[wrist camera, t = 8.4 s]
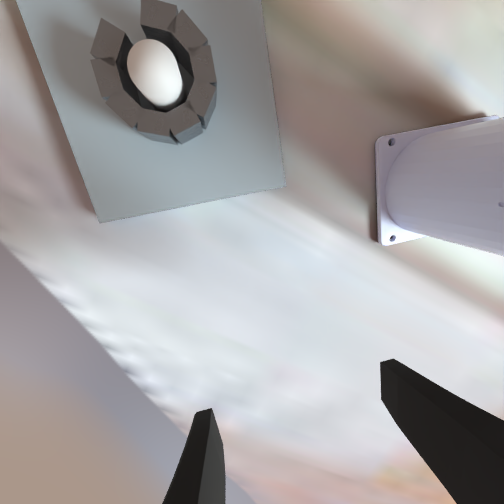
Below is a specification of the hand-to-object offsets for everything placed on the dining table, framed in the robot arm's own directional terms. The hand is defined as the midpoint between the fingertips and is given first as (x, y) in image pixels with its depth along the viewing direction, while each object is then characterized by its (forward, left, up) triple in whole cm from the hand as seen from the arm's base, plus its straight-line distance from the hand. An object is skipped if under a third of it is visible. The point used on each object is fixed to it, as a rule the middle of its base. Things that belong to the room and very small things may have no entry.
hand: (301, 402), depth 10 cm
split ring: (+3, -14, -9) cm, 17 cm away
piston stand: (+3, -14, -10) cm, 17 cm away
